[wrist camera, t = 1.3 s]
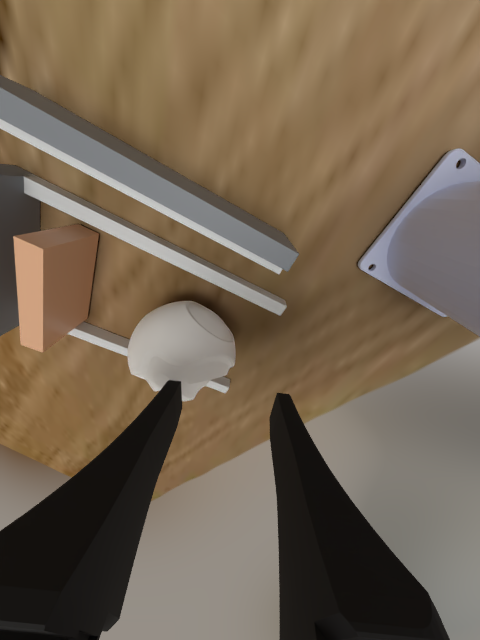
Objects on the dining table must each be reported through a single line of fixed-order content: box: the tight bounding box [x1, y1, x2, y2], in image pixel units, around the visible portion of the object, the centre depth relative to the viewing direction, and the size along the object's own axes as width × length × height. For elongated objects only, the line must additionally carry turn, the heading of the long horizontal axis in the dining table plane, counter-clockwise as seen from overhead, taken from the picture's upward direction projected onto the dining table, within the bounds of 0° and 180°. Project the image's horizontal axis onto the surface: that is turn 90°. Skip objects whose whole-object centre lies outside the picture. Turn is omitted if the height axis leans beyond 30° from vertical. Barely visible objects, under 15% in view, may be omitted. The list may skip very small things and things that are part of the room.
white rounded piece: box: [128, 301, 236, 401], centre depth 17 cm, size 8×8×8 cm
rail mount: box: [0, 75, 299, 393], centre depth 15 cm, size 21×16×6 cm
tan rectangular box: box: [13, 224, 99, 352], centre depth 16 cm, size 2×8×5 cm, turn 153°
